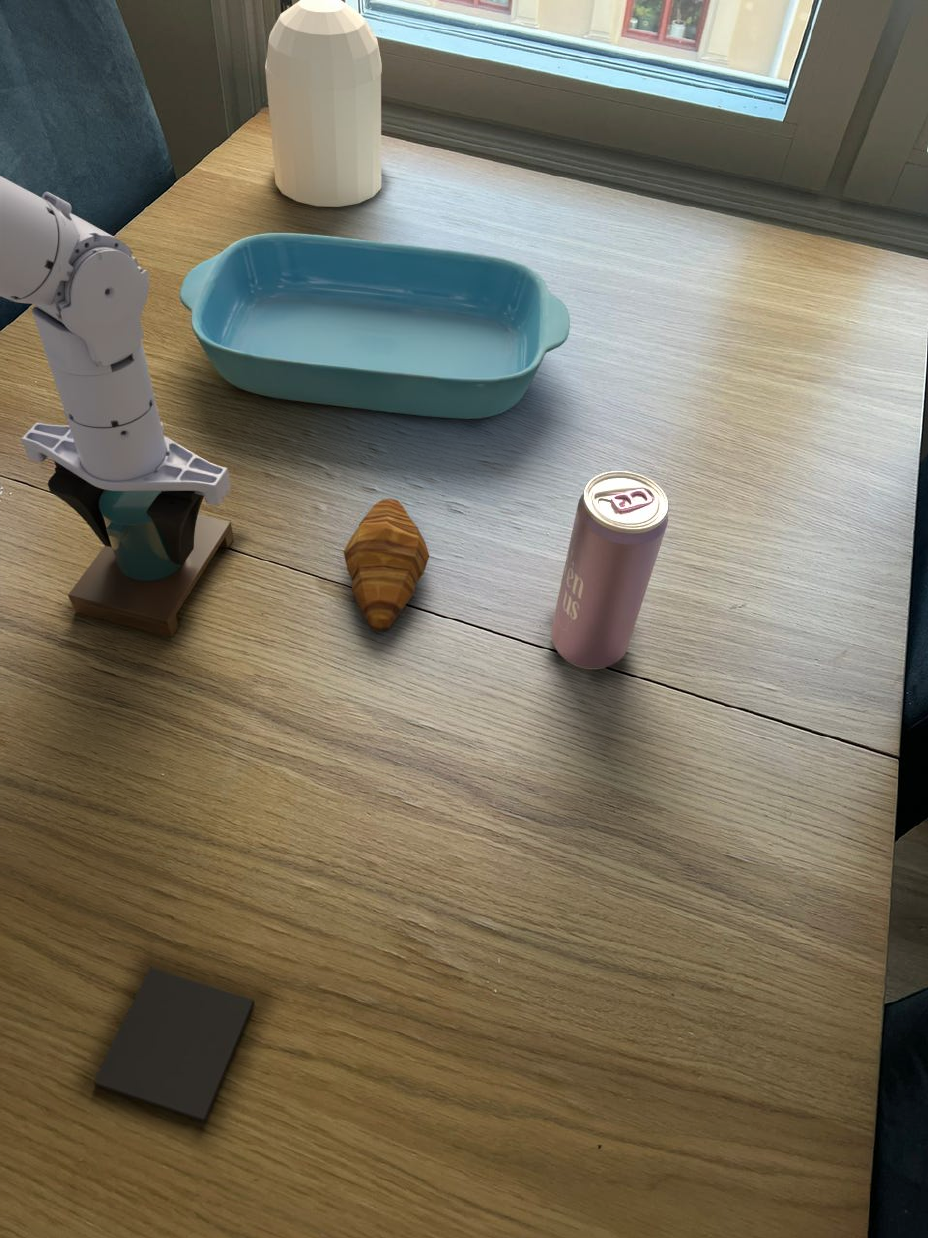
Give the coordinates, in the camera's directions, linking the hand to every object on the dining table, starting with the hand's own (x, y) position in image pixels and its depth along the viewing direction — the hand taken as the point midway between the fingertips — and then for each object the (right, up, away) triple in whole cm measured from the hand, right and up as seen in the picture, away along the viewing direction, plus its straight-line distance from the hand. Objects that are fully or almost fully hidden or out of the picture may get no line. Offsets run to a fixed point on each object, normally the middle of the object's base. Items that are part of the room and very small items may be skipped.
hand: (149, 546), depth 71 cm
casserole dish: (+15, +20, +22) cm, 34 cm away
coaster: (+8, -29, -20) cm, 36 cm away
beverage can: (+34, -7, +1) cm, 34 cm away
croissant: (+18, -2, +4) cm, 18 cm away
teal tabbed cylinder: (0, -1, +1) cm, 1 cm away
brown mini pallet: (0, -2, +2) cm, 3 cm away
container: (+7, +49, +46) cm, 68 cm away
